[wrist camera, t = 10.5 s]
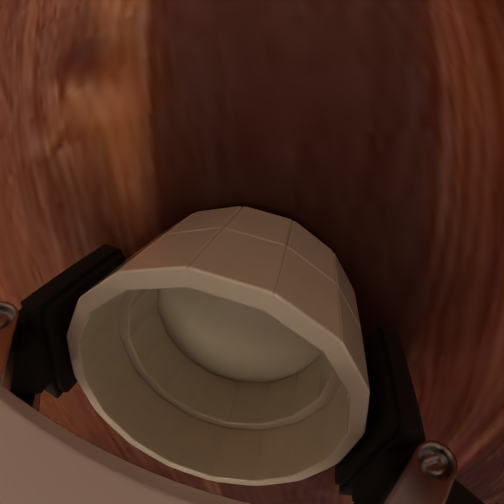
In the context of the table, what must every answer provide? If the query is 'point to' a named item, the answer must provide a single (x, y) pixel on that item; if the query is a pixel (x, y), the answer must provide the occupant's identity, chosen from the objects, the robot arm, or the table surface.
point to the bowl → (227, 350)
